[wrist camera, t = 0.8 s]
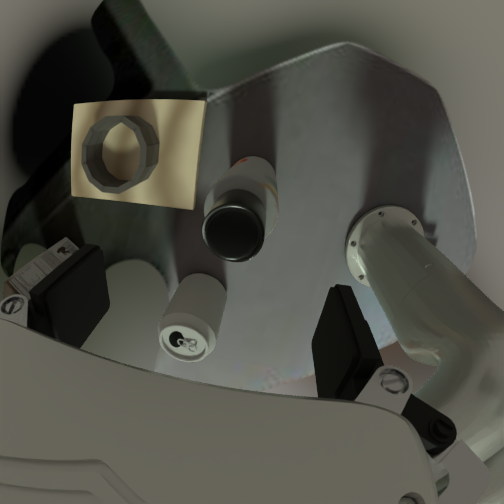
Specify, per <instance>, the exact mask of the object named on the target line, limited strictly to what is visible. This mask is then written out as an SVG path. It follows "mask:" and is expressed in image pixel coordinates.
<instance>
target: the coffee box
mask: <svg viewBox="0 0 504 504" xmlns="http://www.w3.org/2000/svg"><path fill="white" fill-rule="evenodd" d="M77 250H79V248H78V247H77V246H76V245H75V244H74V243H72V242H71V241H70V240H69V239H68V238H67V237H65V238H63V239H62V240H60V241H59V242H57V243H56V244H54V245H53V246H52V247H50V248H49V249H47V250H46V251H44V252H43V253H41V254H40V255H39V256H37V257H36V258H35V259H33V260H32V261H30V262H29V263H28V264H26V265H25V266H24V267H23V268H21V269H20V270H19V271H17V272H16V273H15V274H13V275H12V276H11V277H10V278H8V279H7V280H6V281H5V282H4V292H3V300H4V299H5V298H7V297H9V296H11V295H16V294H20V295H24V296H25V297H26V298H27V299H28V301H29V300H30V299H31V298H30V294H29V291H30V290H31V289H32V288H33V287H34V286H35V285H36V284H38V283H39V282H40V281H41V280H42V279H43V278H45V277H46V276H47V275H48V274H49V273H50V272H52V271H53V270H54V269H55V268H56V267H58V266H59V265H60V264H61V263H62V262H64V261H65V260H66V259H67V258H69V257H70V256H71V255H72V254H74V253H75V252H76V251H77Z"/></svg>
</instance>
